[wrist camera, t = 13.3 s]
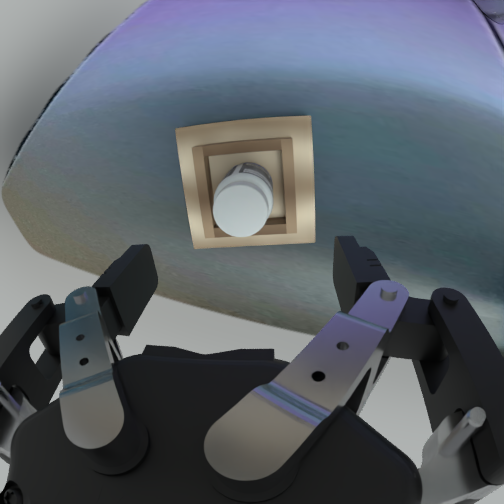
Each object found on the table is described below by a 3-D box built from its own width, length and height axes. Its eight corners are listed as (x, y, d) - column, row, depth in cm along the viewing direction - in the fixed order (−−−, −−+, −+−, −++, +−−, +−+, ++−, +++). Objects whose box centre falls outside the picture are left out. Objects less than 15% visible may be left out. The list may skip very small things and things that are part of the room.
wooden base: (183, 127, 29) (168, 130, 24) (307, 115, 27) (313, 115, 23) (200, 237, 34) (189, 257, 30) (311, 231, 33) (317, 250, 29)
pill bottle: (234, 213, 30) (221, 250, 22) (217, 171, 28) (196, 193, 20) (279, 199, 29) (282, 231, 21) (263, 154, 27) (260, 170, 19)
